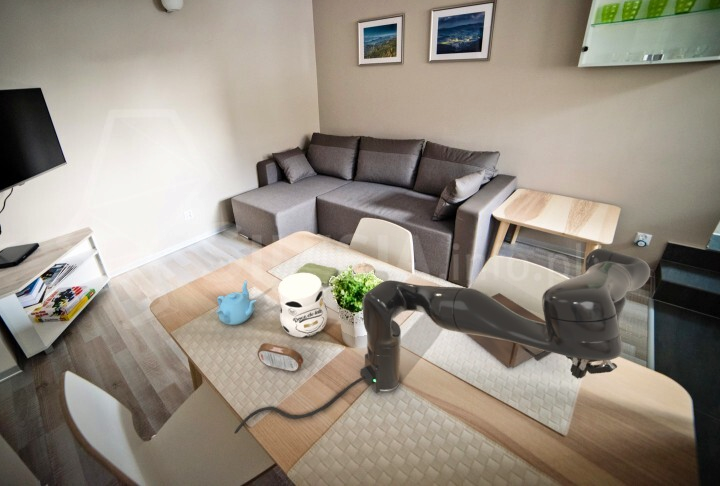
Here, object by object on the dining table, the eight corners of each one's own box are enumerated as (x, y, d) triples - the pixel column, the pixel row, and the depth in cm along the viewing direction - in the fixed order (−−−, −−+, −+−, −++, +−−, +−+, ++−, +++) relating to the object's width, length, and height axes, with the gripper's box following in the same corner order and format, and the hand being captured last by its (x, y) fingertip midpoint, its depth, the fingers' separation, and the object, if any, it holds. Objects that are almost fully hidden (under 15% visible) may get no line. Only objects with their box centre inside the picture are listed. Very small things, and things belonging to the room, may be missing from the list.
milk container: (311, 349, 110) (306, 307, 103) (272, 331, 119) (264, 292, 111) (336, 317, 123) (333, 277, 116) (299, 303, 132) (294, 266, 124)
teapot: (216, 310, 133) (211, 289, 128) (253, 299, 137) (248, 278, 133) (220, 334, 120) (214, 312, 116) (260, 320, 125) (256, 299, 120)
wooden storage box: (540, 349, 103) (548, 323, 98) (507, 368, 98) (514, 341, 93) (494, 317, 117) (499, 292, 112) (463, 332, 112) (467, 307, 107)
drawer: (557, 360, 98) (564, 337, 94) (526, 378, 93) (533, 356, 89) (499, 319, 114) (503, 299, 111) (471, 333, 110) (474, 313, 106)
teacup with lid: (369, 296, 133) (369, 272, 128) (349, 290, 138) (348, 266, 133) (381, 280, 142) (381, 257, 137) (362, 275, 147) (361, 252, 142)
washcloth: (306, 265, 158) (306, 259, 156) (339, 273, 150) (339, 267, 148) (291, 280, 147) (291, 274, 146) (326, 289, 139) (325, 283, 138)
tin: (304, 368, 103) (302, 348, 100) (301, 376, 101) (298, 356, 97) (262, 358, 108) (258, 339, 105) (258, 365, 106) (254, 346, 102)
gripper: (556, 314, 83) (542, 363, 90) (618, 350, 72) (596, 402, 79) (575, 304, 86) (559, 352, 93) (637, 337, 75) (614, 389, 82)
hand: (576, 375), depth 86 cm, fingers closed
